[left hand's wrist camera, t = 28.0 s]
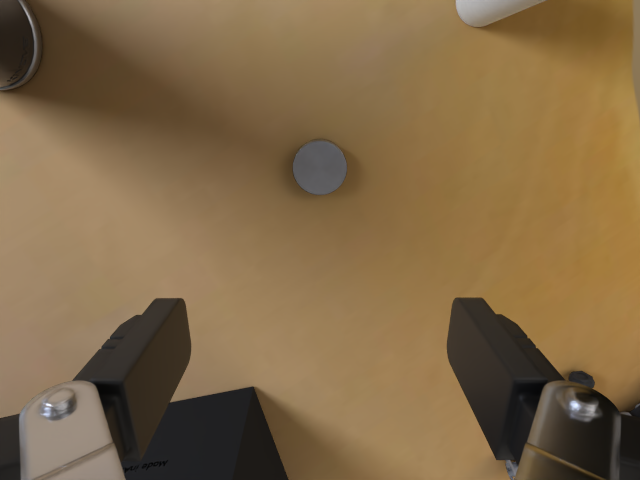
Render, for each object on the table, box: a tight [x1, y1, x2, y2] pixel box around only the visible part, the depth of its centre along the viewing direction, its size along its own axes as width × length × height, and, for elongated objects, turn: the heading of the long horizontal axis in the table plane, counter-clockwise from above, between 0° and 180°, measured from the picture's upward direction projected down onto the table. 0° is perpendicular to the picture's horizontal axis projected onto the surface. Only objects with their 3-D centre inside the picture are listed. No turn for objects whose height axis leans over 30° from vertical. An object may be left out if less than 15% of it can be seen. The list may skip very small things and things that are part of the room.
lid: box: [293, 139, 347, 195], centre depth 37 cm, size 5×5×2 cm
